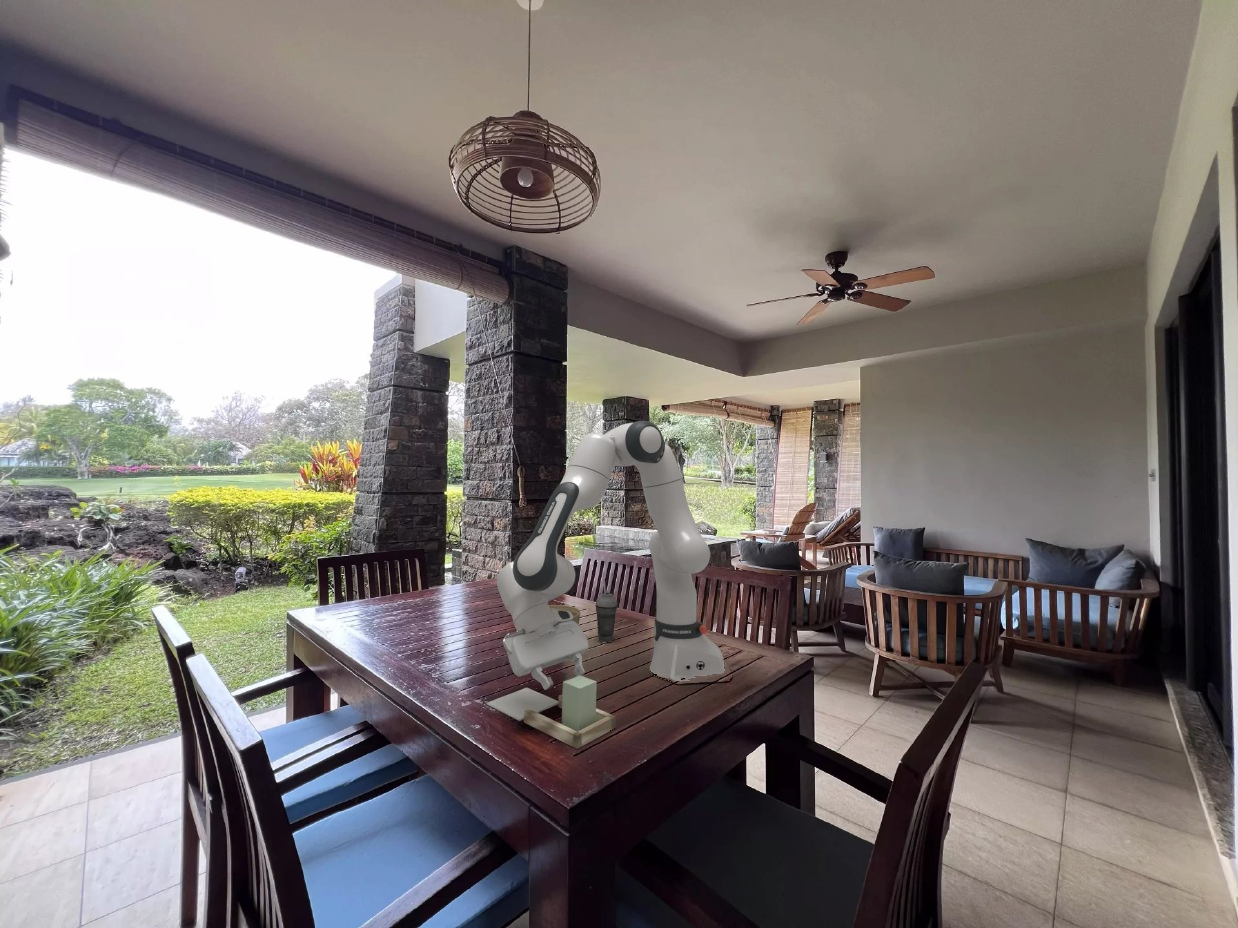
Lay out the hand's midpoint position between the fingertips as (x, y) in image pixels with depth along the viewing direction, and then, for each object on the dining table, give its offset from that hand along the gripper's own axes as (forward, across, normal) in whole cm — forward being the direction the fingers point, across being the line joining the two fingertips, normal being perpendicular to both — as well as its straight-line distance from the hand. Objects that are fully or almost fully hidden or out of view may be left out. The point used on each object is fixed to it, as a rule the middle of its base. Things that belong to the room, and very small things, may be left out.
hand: (565, 681), depth 110 cm
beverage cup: (-15, +48, +28) cm, 58 cm away
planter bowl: (-21, +33, +34) cm, 52 cm away
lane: (+8, 0, +5) cm, 9 cm away
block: (+9, 0, +4) cm, 10 cm away
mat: (-3, 0, +16) cm, 17 cm away
